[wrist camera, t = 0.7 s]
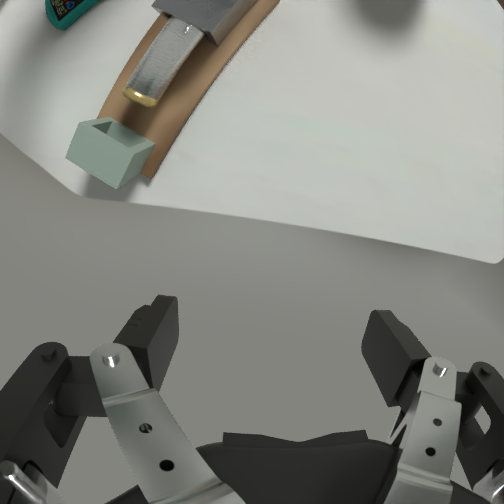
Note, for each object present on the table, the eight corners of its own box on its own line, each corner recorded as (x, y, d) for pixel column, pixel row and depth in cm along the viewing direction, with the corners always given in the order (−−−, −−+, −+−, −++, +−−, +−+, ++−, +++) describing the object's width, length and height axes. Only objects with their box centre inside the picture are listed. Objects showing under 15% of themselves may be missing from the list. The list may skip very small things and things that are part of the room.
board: (92, 138, 30) (86, 140, 28) (207, -32, 19) (205, -37, 18) (154, 175, 33) (150, 178, 31) (279, 2, 22) (280, -2, 21)
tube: (130, 92, 25) (115, 91, 21) (232, -38, 17) (230, -54, 14) (159, 107, 26) (146, 108, 23) (263, -24, 19) (265, -39, 15)
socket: (95, 145, 29) (65, 157, 23) (109, 116, 27) (79, 122, 21) (140, 172, 31) (116, 189, 25) (155, 143, 29) (133, 154, 23)
